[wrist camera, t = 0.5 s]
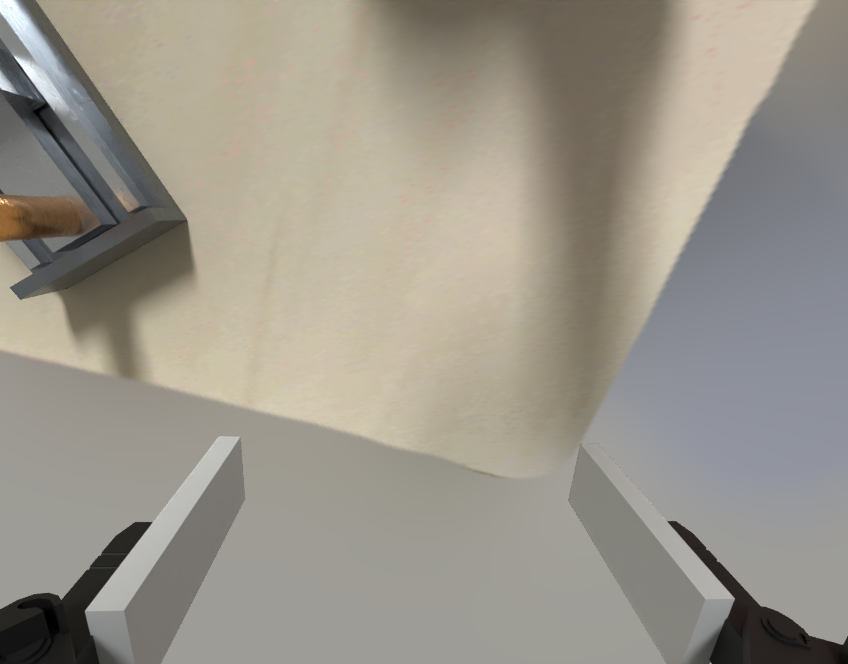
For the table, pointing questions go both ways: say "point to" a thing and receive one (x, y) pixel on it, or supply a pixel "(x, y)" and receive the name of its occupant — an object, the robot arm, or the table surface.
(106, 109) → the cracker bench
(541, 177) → the table surface
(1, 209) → the ram handle
